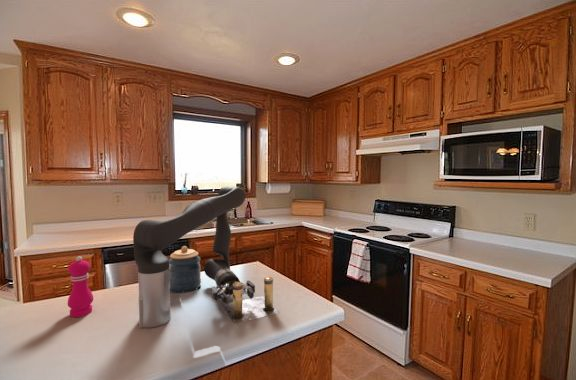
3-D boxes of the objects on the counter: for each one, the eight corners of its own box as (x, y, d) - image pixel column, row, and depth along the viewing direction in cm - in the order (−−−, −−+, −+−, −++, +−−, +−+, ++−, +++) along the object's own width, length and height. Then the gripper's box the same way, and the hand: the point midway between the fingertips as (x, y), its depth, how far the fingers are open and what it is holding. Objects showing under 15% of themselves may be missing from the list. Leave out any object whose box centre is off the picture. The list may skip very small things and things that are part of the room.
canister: (200, 279, 129) (200, 241, 128) (201, 290, 116) (200, 248, 115) (170, 283, 124) (169, 243, 123) (167, 295, 112) (166, 251, 111)
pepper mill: (91, 306, 103) (89, 252, 102) (95, 313, 98) (93, 256, 96) (66, 312, 98) (64, 256, 97) (69, 320, 93) (67, 260, 91)
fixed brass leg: (266, 312, 96) (266, 280, 95) (262, 308, 99) (262, 277, 98) (274, 310, 97) (274, 279, 97) (271, 306, 100) (270, 276, 99)
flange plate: (233, 327, 89) (233, 323, 88) (222, 307, 102) (222, 304, 102) (279, 316, 96) (279, 312, 96) (263, 298, 109) (263, 295, 109)
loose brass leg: (234, 319, 91) (234, 286, 91) (232, 315, 94) (231, 282, 93) (243, 317, 93) (243, 284, 92) (241, 313, 95) (240, 281, 95)
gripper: (207, 274, 102) (217, 290, 88) (245, 268, 109) (260, 283, 94) (207, 294, 103) (217, 314, 88) (245, 287, 109) (260, 305, 94)
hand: (239, 298), depth 91 cm, fingers open, 8 cm apart
